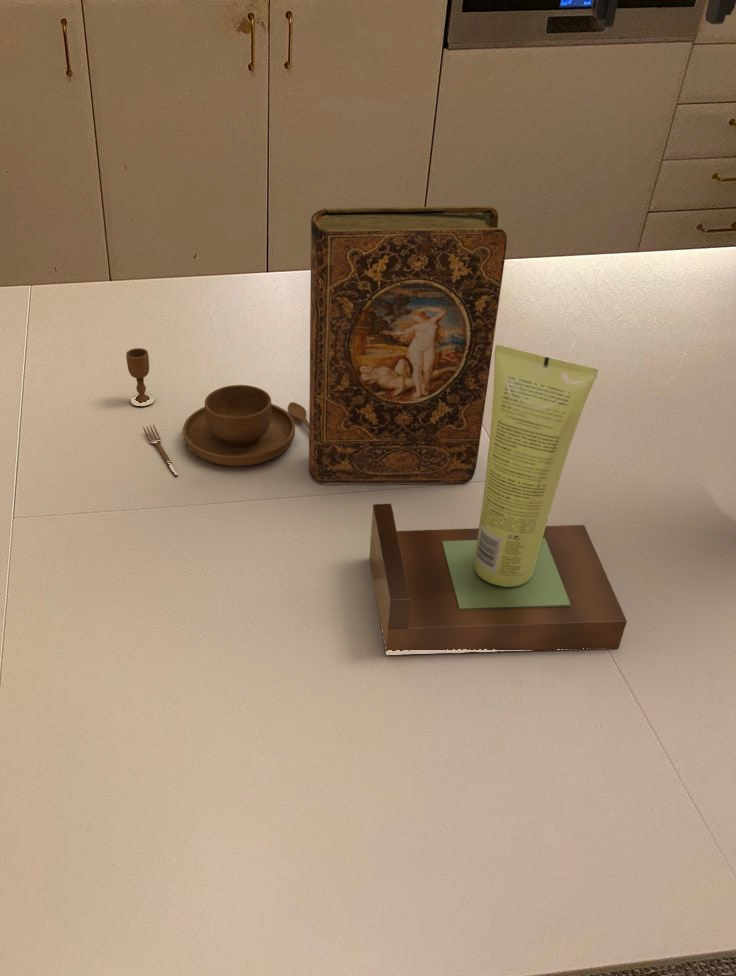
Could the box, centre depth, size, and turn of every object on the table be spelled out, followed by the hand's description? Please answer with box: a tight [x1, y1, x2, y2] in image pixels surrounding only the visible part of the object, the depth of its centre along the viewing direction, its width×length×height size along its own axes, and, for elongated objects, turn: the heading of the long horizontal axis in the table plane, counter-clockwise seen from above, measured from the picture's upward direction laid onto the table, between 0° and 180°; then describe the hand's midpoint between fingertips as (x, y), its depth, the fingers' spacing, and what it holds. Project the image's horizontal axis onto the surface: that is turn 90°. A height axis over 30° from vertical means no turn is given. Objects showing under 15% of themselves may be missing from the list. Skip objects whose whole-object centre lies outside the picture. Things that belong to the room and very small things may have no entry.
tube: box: [474, 343, 599, 587], centre depth 76 cm, size 6×5×20 cm
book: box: [308, 205, 508, 485], centre depth 92 cm, size 16×6×25 cm, turn 88°
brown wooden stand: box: [369, 503, 628, 651], centre depth 83 cm, size 19×13×6 cm
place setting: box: [125, 347, 309, 467], centre depth 106 cm, size 18×20×6 cm
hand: (659, 24), depth 77 cm, fingers open, 8 cm apart
